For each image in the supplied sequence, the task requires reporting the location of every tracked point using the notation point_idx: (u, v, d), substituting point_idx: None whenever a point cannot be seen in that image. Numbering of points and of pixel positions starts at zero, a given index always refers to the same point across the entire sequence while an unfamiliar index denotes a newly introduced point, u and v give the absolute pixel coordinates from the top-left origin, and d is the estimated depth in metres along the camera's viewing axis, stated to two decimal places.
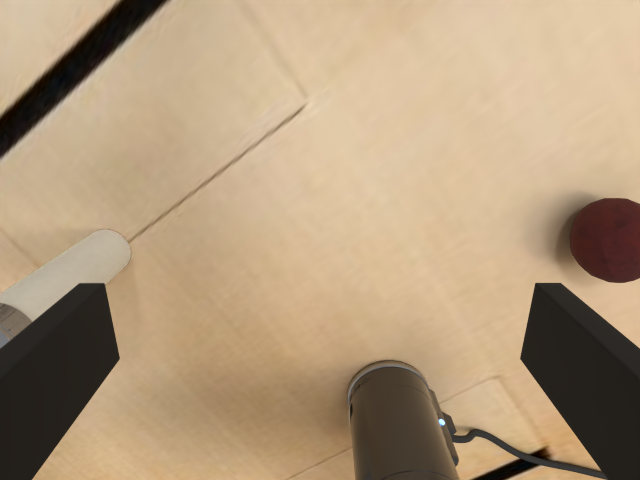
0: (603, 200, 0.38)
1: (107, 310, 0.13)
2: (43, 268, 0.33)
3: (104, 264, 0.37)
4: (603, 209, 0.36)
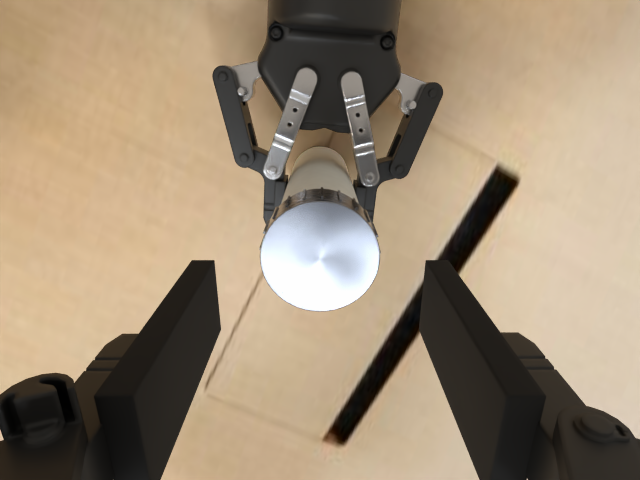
0: None
1: (215, 284, 0.14)
2: None
3: None
4: None
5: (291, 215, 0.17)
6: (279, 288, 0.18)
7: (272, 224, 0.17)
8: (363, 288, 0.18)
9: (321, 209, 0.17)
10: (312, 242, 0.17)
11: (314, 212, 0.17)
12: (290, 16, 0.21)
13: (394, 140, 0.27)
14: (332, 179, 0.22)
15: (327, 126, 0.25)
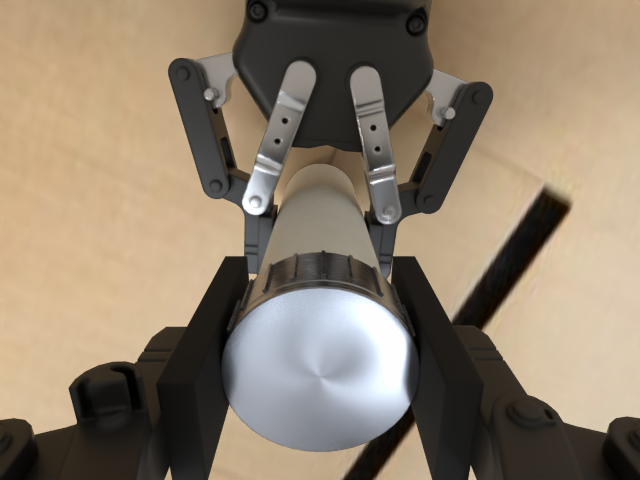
0: None
1: (248, 280, 0.14)
2: None
3: None
4: None
5: (271, 309, 0.10)
6: (253, 419, 0.11)
7: (239, 323, 0.10)
8: (391, 419, 0.11)
9: (322, 300, 0.10)
10: (306, 352, 0.10)
11: (310, 305, 0.10)
12: None
13: (420, 160, 0.20)
14: (338, 224, 0.15)
15: (330, 143, 0.18)
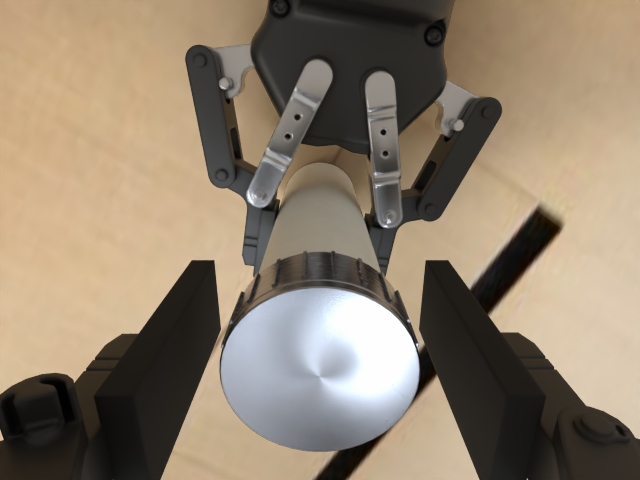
0: None
1: (215, 284, 0.14)
2: None
3: None
4: None
5: (252, 419, 0.11)
6: (379, 425, 0.11)
7: (271, 440, 0.11)
8: (368, 305, 0.10)
9: (234, 383, 0.11)
10: (292, 389, 0.11)
11: (241, 391, 0.11)
12: None
13: (424, 168, 0.21)
14: (343, 223, 0.15)
15: (339, 143, 0.18)
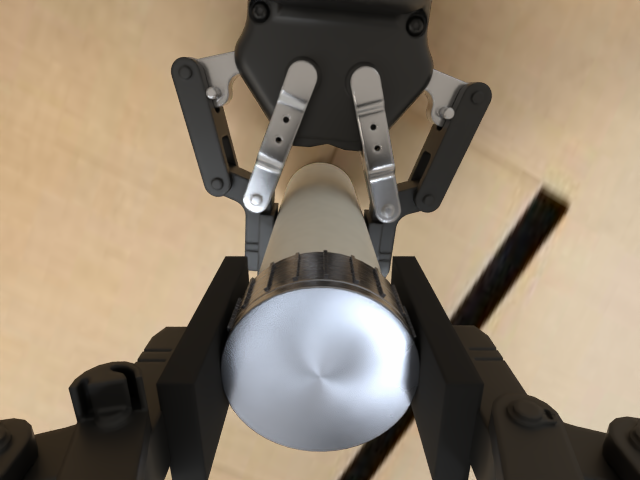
0: None
1: (248, 280, 0.14)
2: None
3: None
4: None
5: (257, 423, 0.11)
6: (384, 421, 0.11)
7: (278, 443, 0.11)
8: (361, 302, 0.10)
9: (236, 388, 0.11)
10: (294, 391, 0.11)
11: (243, 396, 0.11)
12: None
13: (419, 159, 0.21)
14: (338, 221, 0.15)
15: (331, 142, 0.18)
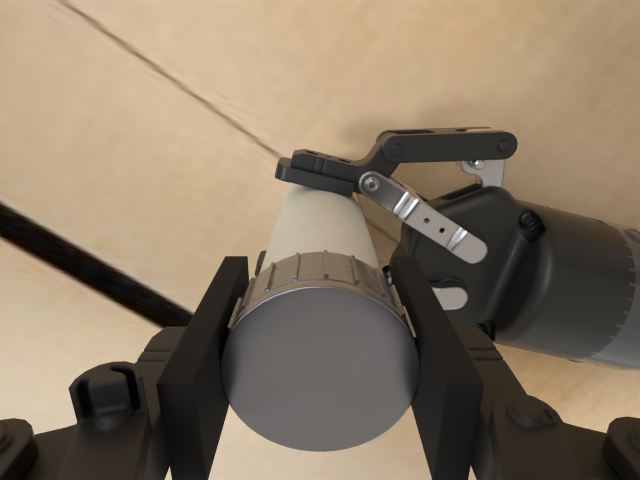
0: None
1: (248, 280, 0.14)
2: None
3: (295, 188, 0.22)
4: None
5: (257, 423, 0.11)
6: (384, 421, 0.11)
7: (278, 443, 0.11)
8: (361, 302, 0.10)
9: (236, 388, 0.11)
10: (294, 391, 0.11)
11: (243, 396, 0.11)
12: (553, 254, 0.18)
13: None
14: None
15: None
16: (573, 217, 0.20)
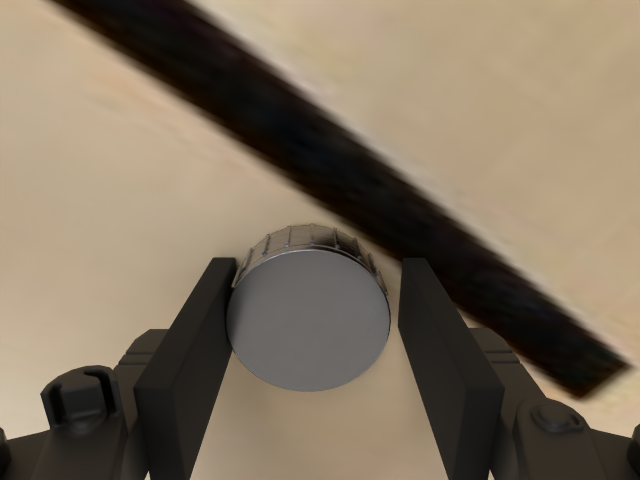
0: None
1: None
2: None
3: None
4: None
5: (256, 367, 0.13)
6: (362, 364, 0.13)
7: (274, 384, 0.14)
8: (341, 262, 0.12)
9: (238, 337, 0.13)
10: (287, 339, 0.13)
11: (245, 343, 0.13)
12: None
13: None
14: None
15: None
16: None
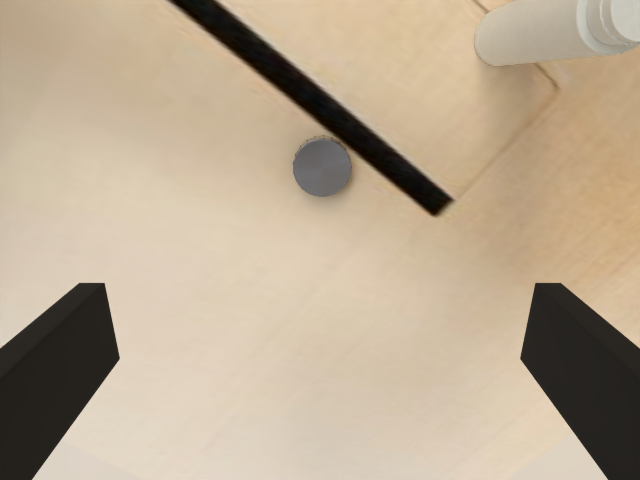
0: None
1: (106, 310, 0.13)
2: (526, 36, 0.26)
3: (516, 0, 0.30)
4: None
5: (303, 185, 0.37)
6: (341, 184, 0.37)
7: (309, 193, 0.37)
8: (333, 144, 0.36)
9: (297, 173, 0.37)
10: (314, 173, 0.37)
11: (299, 175, 0.37)
12: None
13: None
14: None
15: None
16: None
